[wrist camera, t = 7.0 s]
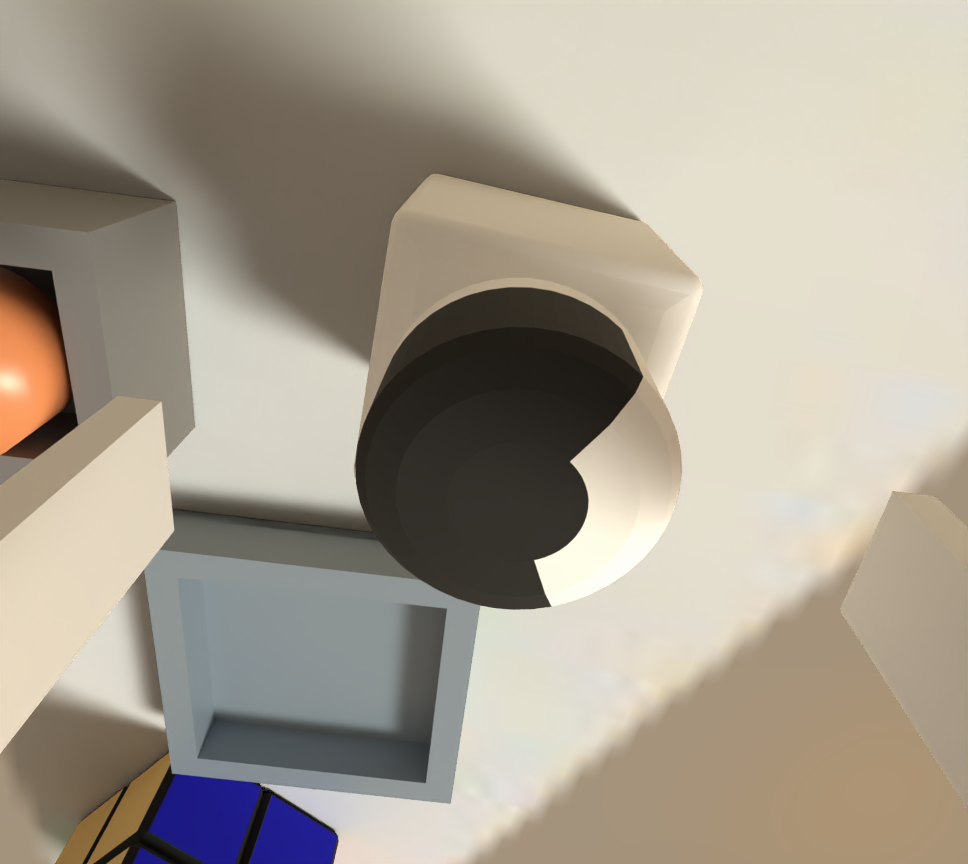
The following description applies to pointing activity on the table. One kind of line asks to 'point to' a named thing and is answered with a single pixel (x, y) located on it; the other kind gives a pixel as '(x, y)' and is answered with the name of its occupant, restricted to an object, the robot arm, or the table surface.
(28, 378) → the button
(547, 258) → the medicine bottle
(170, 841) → the puzzle cube
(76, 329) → the button housing
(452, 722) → the tray
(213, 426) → the table surface
